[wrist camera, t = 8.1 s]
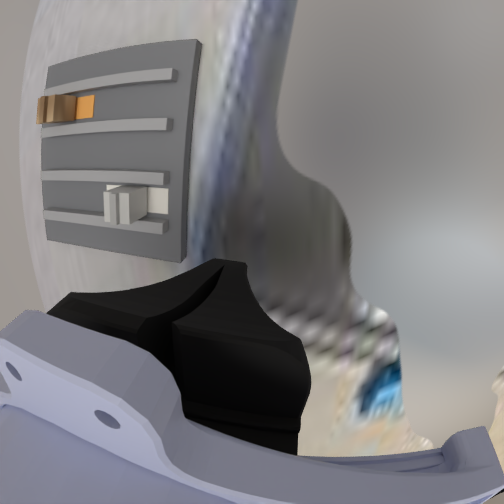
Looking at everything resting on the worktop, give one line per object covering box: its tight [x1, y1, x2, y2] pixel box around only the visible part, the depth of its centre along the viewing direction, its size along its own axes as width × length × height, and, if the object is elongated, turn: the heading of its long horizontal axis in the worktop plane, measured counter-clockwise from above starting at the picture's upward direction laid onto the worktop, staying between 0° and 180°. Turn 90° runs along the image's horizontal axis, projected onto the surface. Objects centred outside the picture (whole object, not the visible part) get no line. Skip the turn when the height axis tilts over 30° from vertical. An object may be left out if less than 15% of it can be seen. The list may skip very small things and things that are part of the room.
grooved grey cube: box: [103, 185, 147, 225], centre depth 18 cm, size 2×2×3 cm
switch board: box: [41, 39, 202, 263], centre depth 19 cm, size 16×14×2 cm
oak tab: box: [36, 94, 76, 124], centre depth 16 cm, size 2×2×3 cm
